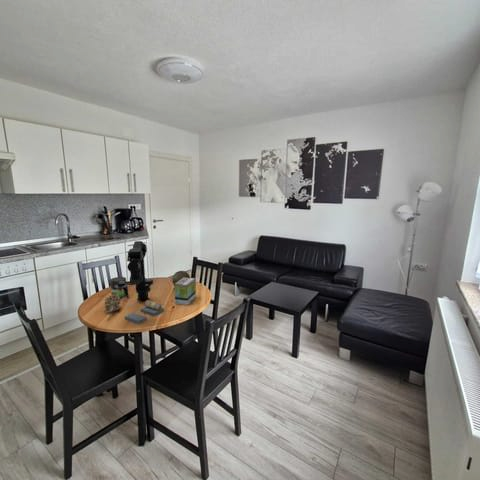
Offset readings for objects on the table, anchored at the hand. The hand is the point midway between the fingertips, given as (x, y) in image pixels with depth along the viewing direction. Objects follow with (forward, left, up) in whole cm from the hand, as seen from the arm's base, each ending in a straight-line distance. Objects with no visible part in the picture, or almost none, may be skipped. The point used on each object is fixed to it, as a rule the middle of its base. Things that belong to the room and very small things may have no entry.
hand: (136, 297), depth 147 cm
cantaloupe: (-53, -13, -15) cm, 57 cm away
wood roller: (-14, -3, -11) cm, 18 cm away
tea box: (-38, +4, -15) cm, 41 cm away
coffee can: (-18, -41, -15) cm, 47 cm away
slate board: (-8, -3, -15) cm, 17 cm away
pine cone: (0, -24, -15) cm, 28 cm away
